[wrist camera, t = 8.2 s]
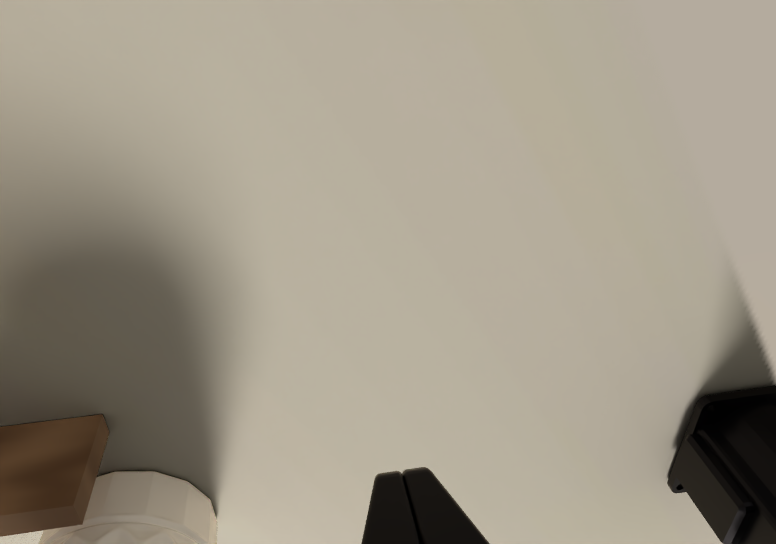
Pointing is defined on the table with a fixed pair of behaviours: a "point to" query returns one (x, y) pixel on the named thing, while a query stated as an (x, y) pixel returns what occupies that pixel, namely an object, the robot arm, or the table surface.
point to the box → (49, 472)
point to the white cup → (141, 513)
